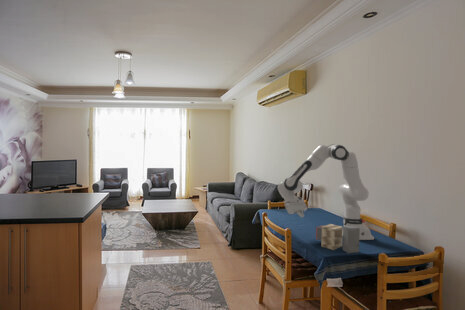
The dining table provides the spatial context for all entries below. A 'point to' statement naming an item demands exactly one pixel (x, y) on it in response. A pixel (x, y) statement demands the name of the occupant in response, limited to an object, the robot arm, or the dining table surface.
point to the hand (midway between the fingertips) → (302, 216)
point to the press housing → (331, 236)
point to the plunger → (319, 232)
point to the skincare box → (351, 239)
